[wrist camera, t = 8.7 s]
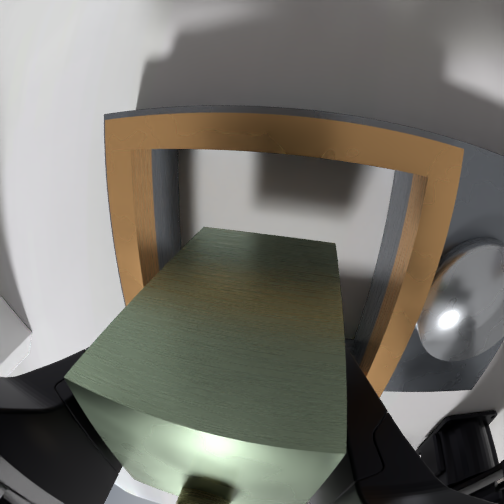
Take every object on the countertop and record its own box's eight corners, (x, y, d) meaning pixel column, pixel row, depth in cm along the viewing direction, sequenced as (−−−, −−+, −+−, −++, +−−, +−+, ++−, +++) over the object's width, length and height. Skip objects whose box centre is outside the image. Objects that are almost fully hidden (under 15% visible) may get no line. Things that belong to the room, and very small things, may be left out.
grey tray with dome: (532, 170, 9) (578, 191, 6) (461, 363, 15) (477, 407, 11) (134, 112, 13) (81, 116, 9) (153, 323, 18) (124, 364, 15)
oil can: (335, 243, 9) (340, 532, 2) (312, 352, 11) (282, 555, 4) (203, 226, 10) (25, 426, 3) (207, 334, 12) (118, 510, 5)
